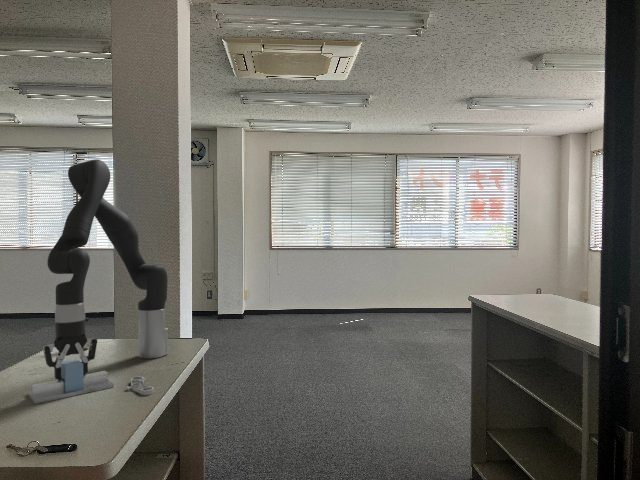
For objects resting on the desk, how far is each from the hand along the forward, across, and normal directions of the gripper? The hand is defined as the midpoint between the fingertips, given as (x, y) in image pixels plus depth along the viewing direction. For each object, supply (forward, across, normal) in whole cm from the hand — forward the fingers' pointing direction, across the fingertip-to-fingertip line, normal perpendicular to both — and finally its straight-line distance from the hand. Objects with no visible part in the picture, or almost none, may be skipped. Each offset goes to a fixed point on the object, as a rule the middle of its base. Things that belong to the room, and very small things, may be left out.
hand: (71, 377), depth 133 cm
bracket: (+5, -16, +11) cm, 20 cm away
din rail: (+4, 0, 0) cm, 4 cm away
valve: (+4, -15, -51) cm, 53 cm away
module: (+3, 0, 0) cm, 3 cm away
